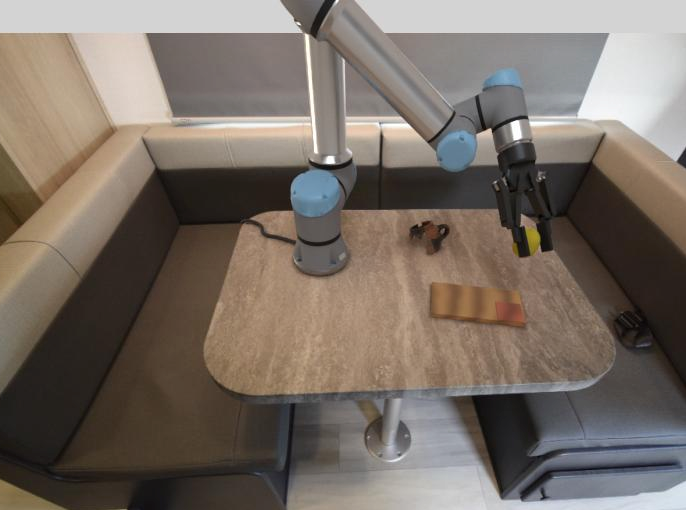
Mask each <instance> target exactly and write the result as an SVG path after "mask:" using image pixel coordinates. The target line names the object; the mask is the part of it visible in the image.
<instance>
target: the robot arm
mask: <svg viewBox="0 0 686 510" xmlns="http://www.w3.org/2000/svg"><path fill="white" fill-rule="evenodd" d="M279 2H280V3H281V4H282V6H283V7H284V8H285V10H286V11H287V12H288V13H289V14H290V15H291V16H292V18H293V23H294V24H295V25H296V26H297V28H299V29H300V31H301V32H302V39H303V40H302V41H303V50H304V52H303V53H304V63H305V73H306V84H307V95H308V106H309V117H310V126H311V127H310V128H311V138H312V147H311V149H310V150H309V151H308V153H307V158H308V168H309V169H308V170H306V171H305V172H304V173H300V174H299V175H297V176H296V177H294V179H293V181H292V183H291V185H290V202H291V206H292V213H293V219H294V224H295V232H296V240H295V239H292V238H289V237H287V236H286V237H285V236H282V235H278V234H272V233H267V232H265V229H264V225H263V224H262V223H260V222H259V221H257V220H254V219H252V218H243V219H242V220H241V221H240V222H239V223H240V224H242V225H243V224H245V223H251V224H254V225H256V226H258V227H259V229H260V230H259V231H260V233H261V234H262V236H264V237H267V238H272V239H276V240H277V239H278V240H281V241H284V242H287V243H291V244H294V250H293V253H292V256H293V263H294V265H295V268H297V269H298V270H299V271H300V272H302V273H304V274H305V275H308V276H314V277H325V276H330V275H331V276H332V275H334V274H336V273H338V272H341V271H342V270H343V269H344V268H345V267H346V265H347V264H348V262H349V249H348V247H347V245H346V242H345V240H344V238H343V235H342V222H341V213H342V210H343V208H344V206H345V204H346V202H347V201H348V198H349V196H350V194H351V192H352V191H353V189H354V187H355V184H356V182H357V174H358V173H357V167H356V164H355V162H354V160H353V157H354V156H353V151H352V149H350V148H349V147H348V146H347V145H348V144H347V107H346V105H347V104H346V101H347V100H346V63H347V64H348V65H349V66H350V67H351V68H352V69H353V70H354V71H355V72H356V74H357V75H359V76H360V78H362V79H363V80H364V81H365V82H366V83H367V84H368V86H370V88H372V89H373V90H374V92H376V93H377V94H378V95H379V96H380V97H381V98H382V99H383V100H384V101H385V102H386V103H387V104H388V105H389V106H390V107H391V108H392V109H393V110H394V111H395V112H396V113H397V114H398V116H400V117H401V118H402V119H403V120H404V121H405V123H407V125H409V126H410V127H411V128H412V129H413V130H414V131H415V132H416V133H417V134H418V135H419V136H420V137H421V138H422V140H424V141H425V142H426V143H427V145H428V146H429V147H430V148H432V150H433V151H435V156H436V159H437V162H438V165H439V166H440V167H441V168H442V169H443V170H445V171H447V172H451V173H457V172H462V171H464V170H466V169H468V168H469V167H470V166H471V164H472V163H473V162H474V160H475V158H476V156H477V155H476V154H477V149H478V139H477V135H479V134H481V133H483V132H487V131H488V130H490V131H491V137H492V140H493V145H494V150H495V152H496V153H497V156H496V159H497V164H498V169H499V172H500V173H501V178H499V179H497V180H495V181H494V182H492V183H491V188H492V190H493V192H494V194H495V199H496V205H497V211H498V216H499V221H500V226H501V227H502V228H506V229H507V230H509V231H510V232H511V237H512V243H513V242H514V243H516V245H517V250H518V254H519V257H518V259H523V258H522V257H528V256H530V257H532V256H531V254H530V249H529V245H528V240H527V235H526V230H525V228H526V226H525V225H522V196H523V195H524V196H525V197H527V199H528V202H529V204H530V206H531V208H532V210H533V213H534V215H535V217H536V219H537V221H538V222H537V223H535V227H536V231H537V232H538V233H539V235H540V245H539V248H540V251H541V253H546V252H551V251H554V244H553V240H552V235H553V230H552V225H551V220H553V219H554V217H556V216H557V214H558V213H557V207H556V202H555V199H554V195H553V189H552V186H551V182H550V180H551V172H550V171H549V170H546V171H539V168H538V167H537V166H536V162H537V159H538V156H537V152H536V147H535V144H534V143H533V140H534V136H533V132H532V128H531V123H530V118H529V113H528V108H527V101H526V97H525V92H524V87H523V83H522V81H521V77H520V73H519V71H517V70H516V69H515V68H511V67H508V68H502V69H499V70H497V71H495V72H493V73H492V75H489V76H487V77H486V78H485V79H484V81H483V83H482V84H481V86H482V89H481V92H479V93H478V94H476V95H474V96H472V97H469V98H467V99H464V100H462V101H460V102H458V103H455V104H453V105H450V103H449V102H448V101H447V100H446V98H444V97H443V96H442V94H441V93H440V92H439V91H438V90H437V89H436V87H434V86H433V84H432V83H431V82H430V81H429V80H428V79H427V78H426V77H425V76H424V74H423V73H422V72H420V70H419V69H418V68H417V67H416V66H415V64H413V63H412V62H411V60H409V58H408V57H407V56H406V55H405V54H404V53H403V51H401V50H400V49H399V47H398V46H397V44H395V43H394V42H393V41H392V40H391V38H390V37H389V36H388V35H387V34H386V33H385V32H384V31H383V30H382V29H381V27H380V26H379V25H378V24H377V23H376V22H375V21H374V20H373V18H371V16H369V14H368V13H367V12H366V11H365V10H364V9H363V8H362V7H361V6H360V4H358V2H357V1H356V0H279ZM528 258H529V257H528Z"/></svg>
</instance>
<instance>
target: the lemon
mask: <svg viewBox="0 0 686 510" xmlns="http://www.w3.org/2000/svg"><path fill="white" fill-rule="evenodd" d="M525 230H526V235H527V240H528V245H529V249H530V254H531V256H528V257H522V258H521V259H527V258H530V257H532V256H534V255H535V254H536V253H537V251H538V250H539V248H540V235H539V233H538V232H537V229H535V228H534V227H525ZM511 249H512V252H513V254H514V255H515V256H516V257H517V258H519V254H518V250H517V245H516V243H514V242H513V241H512V243H511Z"/></svg>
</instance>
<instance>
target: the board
mask: <svg viewBox="0 0 686 510" xmlns="http://www.w3.org/2000/svg"><path fill="white" fill-rule="evenodd" d="M430 288H431V291H430V292H431V296H430V297H431V298H430V299H431V300H430V302H431V304H430V306H431V307H430V312H431V313H430V317H431V318H438V319H446V320H447V319H448V320H457V321H463V322H474V323H483V324H491V325H501V326H511V327H517V328H525V327H526V325H527V319H526V315H525V312H524V307H523V302H522V299H521V294H520V291H519V290H513V289H505V288H495V287H485V286H476V285H468V284H467V285H466V284H457V283H448V282H438V281H437V282H436V281H432V282H431V287H430Z"/></svg>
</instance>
